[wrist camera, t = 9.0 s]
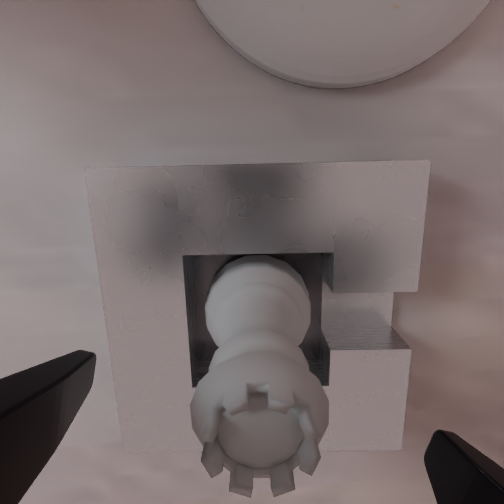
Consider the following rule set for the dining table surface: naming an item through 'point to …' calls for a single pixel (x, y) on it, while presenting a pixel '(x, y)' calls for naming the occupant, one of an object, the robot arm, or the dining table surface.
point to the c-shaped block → (249, 244)
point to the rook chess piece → (259, 378)
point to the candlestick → (339, 35)
